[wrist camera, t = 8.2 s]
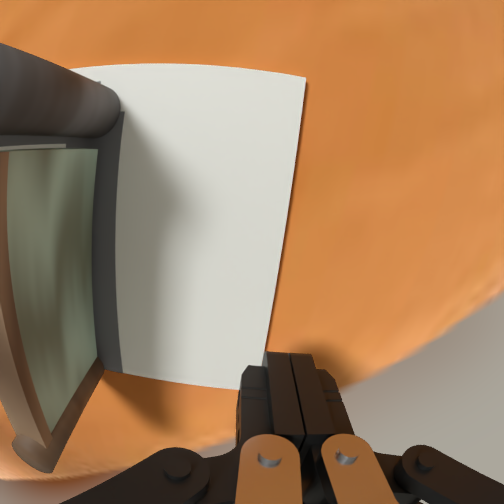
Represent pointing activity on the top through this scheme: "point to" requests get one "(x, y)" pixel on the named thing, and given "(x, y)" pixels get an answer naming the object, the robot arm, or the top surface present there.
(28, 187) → the panel
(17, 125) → the fence fixed section
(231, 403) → the top surface
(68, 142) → the card
